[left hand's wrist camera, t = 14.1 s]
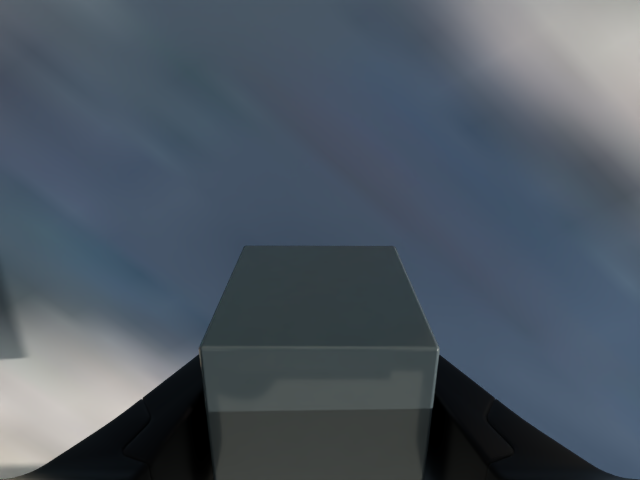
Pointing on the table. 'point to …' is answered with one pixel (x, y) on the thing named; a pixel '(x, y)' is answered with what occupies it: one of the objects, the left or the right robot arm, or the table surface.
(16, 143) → the table surface
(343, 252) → the block
